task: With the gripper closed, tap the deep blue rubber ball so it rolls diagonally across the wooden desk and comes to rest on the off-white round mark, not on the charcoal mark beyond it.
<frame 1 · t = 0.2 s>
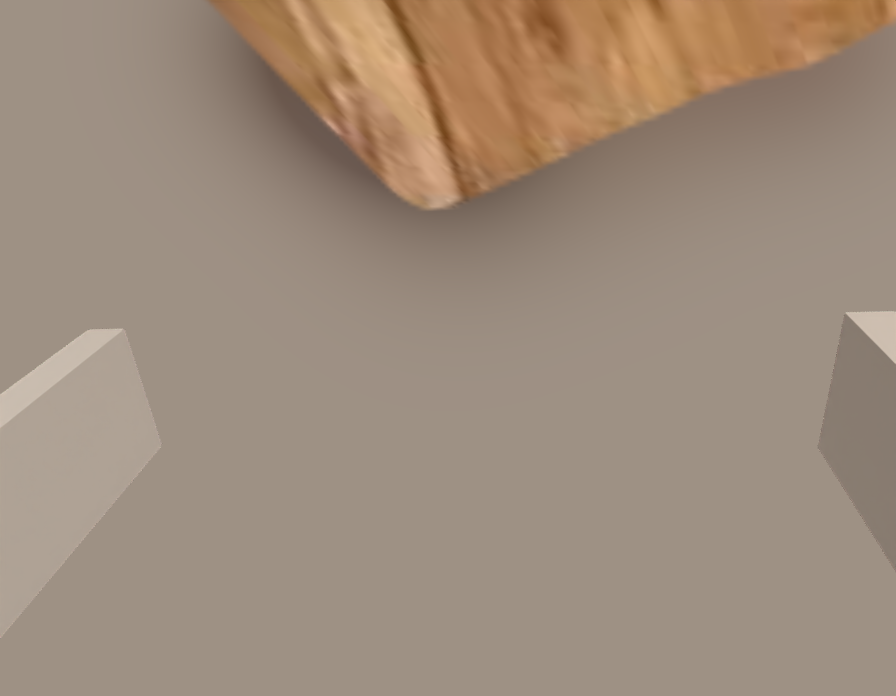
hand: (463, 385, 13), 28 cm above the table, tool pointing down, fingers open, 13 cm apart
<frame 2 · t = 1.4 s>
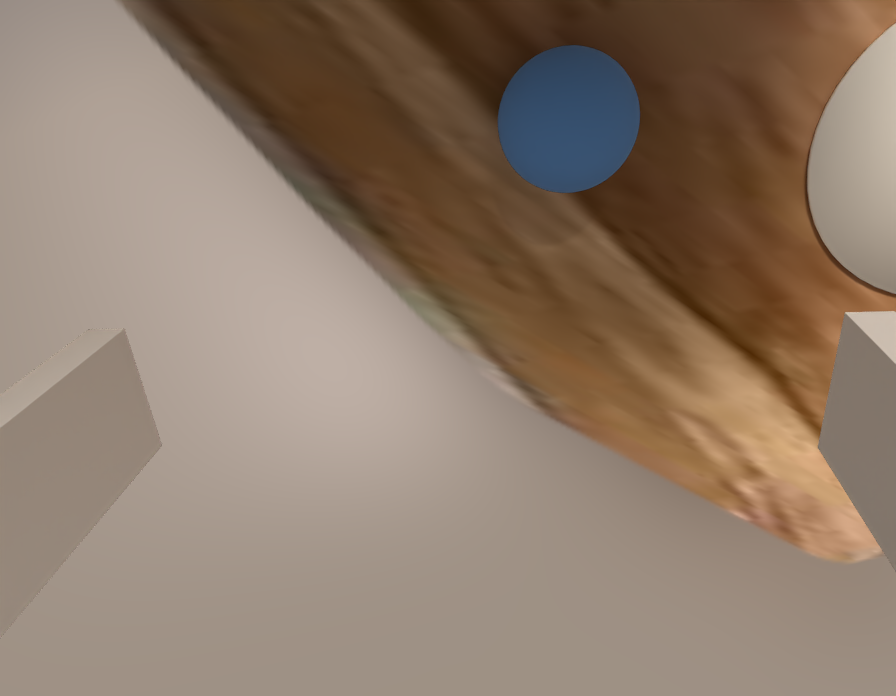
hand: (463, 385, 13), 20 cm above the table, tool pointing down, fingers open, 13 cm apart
ball: (567, 121, 27), on the table
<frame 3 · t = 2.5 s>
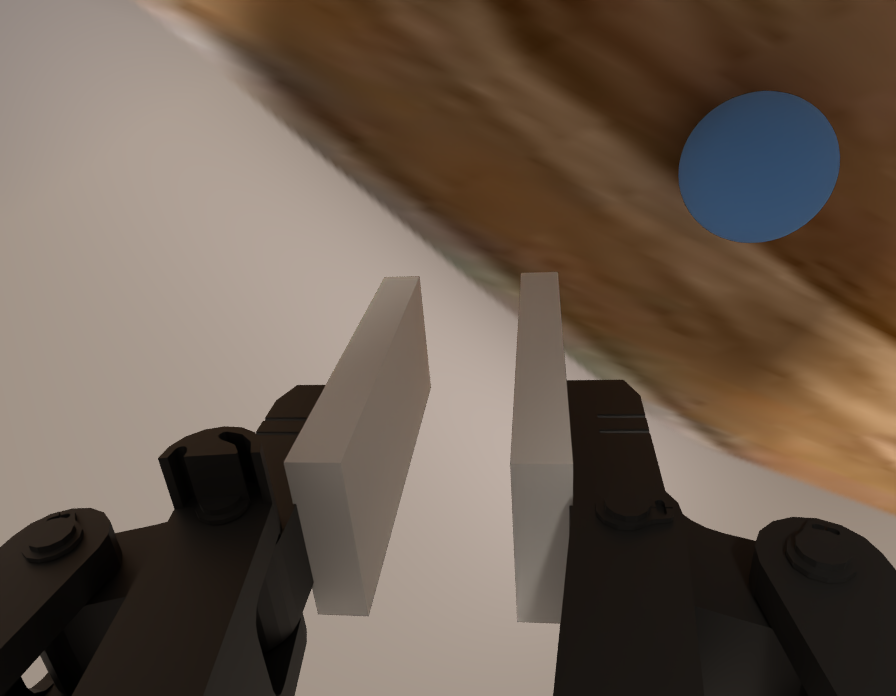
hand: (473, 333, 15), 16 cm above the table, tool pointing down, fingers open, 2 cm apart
ball: (755, 168, 26), on the table
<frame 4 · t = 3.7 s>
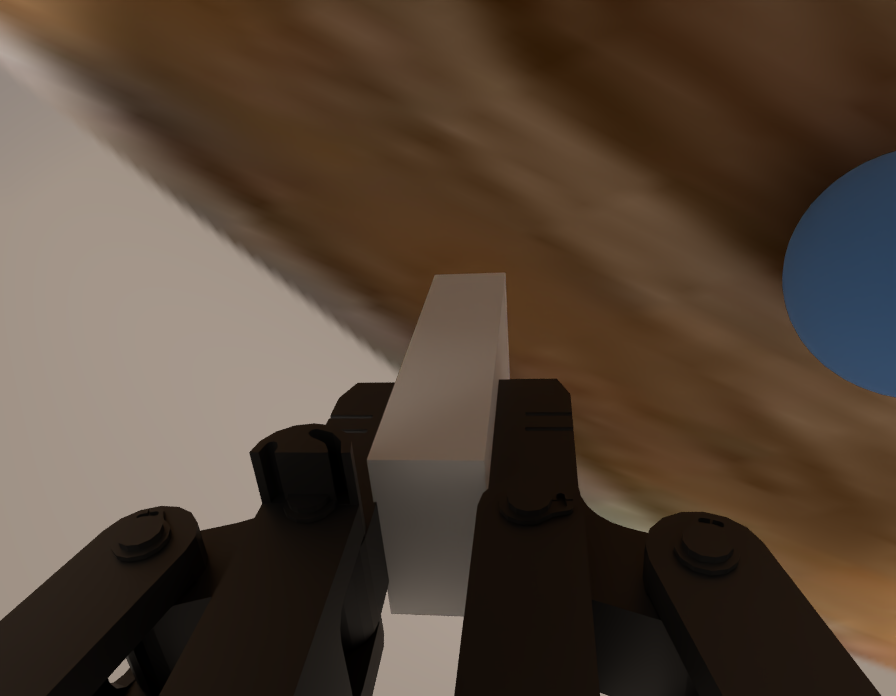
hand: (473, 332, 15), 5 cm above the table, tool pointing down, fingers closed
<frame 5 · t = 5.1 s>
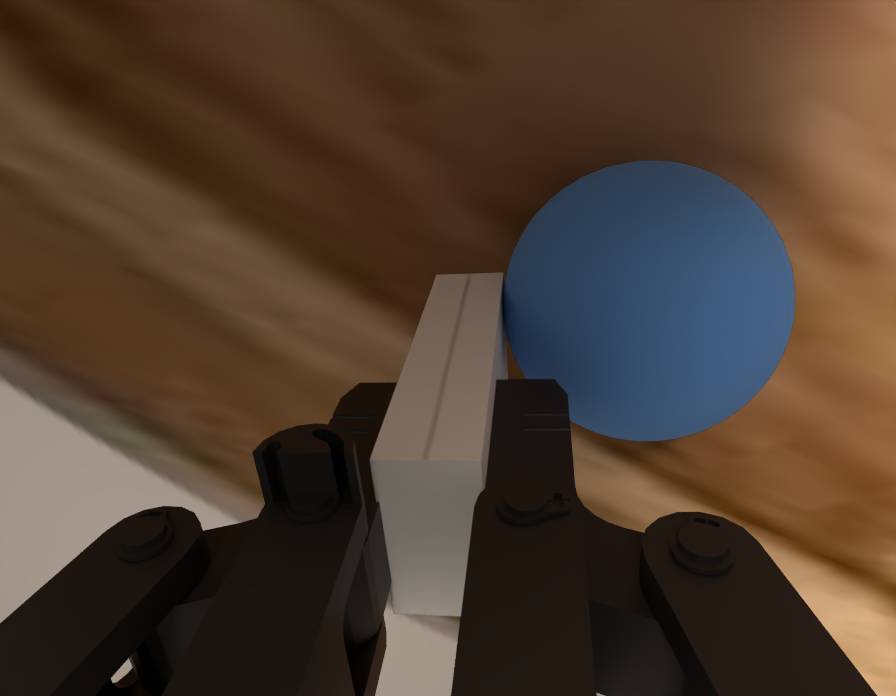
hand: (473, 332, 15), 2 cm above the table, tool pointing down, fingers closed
ball: (640, 302, 14), on the table, touching gripper
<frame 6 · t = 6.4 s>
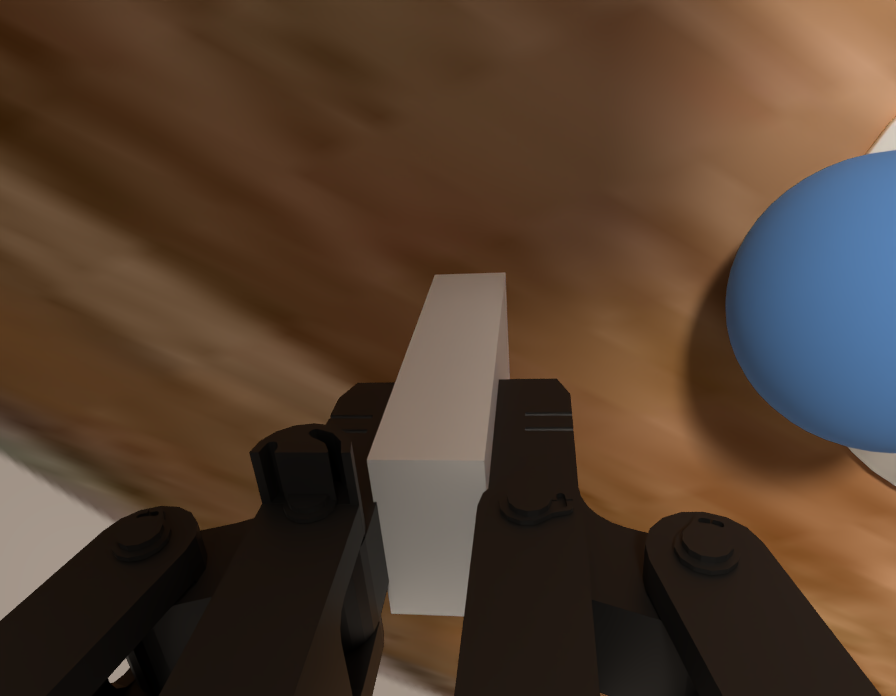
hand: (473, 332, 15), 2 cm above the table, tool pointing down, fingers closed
ball: (885, 303, 13), on the table
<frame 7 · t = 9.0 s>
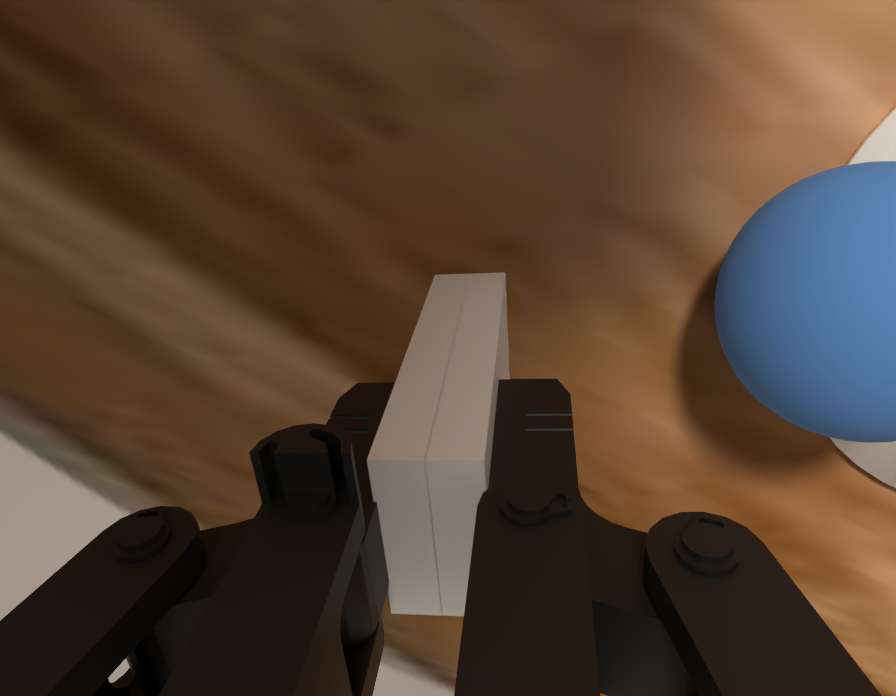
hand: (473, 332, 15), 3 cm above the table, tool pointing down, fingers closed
ball: (862, 303, 14), on the table
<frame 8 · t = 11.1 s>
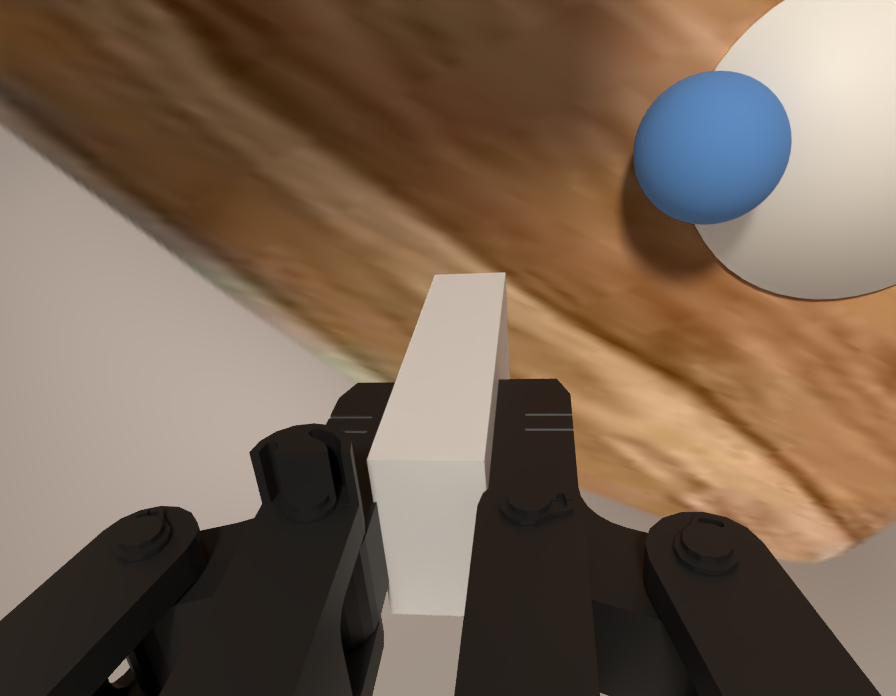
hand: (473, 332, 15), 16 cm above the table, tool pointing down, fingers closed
ball: (709, 149, 25), on the table
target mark: (850, 148, 27), on the table
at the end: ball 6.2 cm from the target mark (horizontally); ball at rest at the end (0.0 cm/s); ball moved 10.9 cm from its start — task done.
